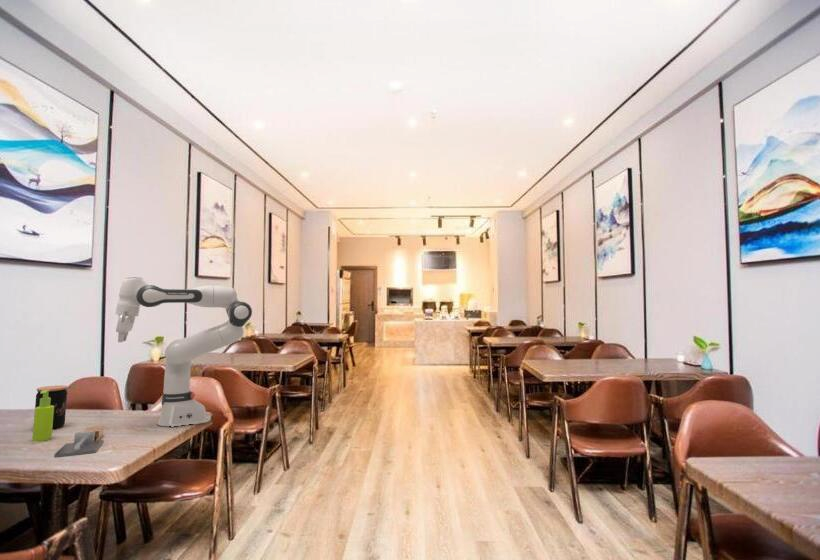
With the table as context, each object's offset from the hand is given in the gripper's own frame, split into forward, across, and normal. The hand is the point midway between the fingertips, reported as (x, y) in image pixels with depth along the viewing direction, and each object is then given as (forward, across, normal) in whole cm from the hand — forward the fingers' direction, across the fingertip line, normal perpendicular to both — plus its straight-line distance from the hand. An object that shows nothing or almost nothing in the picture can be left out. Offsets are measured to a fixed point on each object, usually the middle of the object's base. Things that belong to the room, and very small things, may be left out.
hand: (121, 341), depth 192 cm
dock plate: (+39, -30, +3) cm, 49 cm away
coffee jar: (+42, +12, +23) cm, 49 cm away
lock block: (+39, -15, +2) cm, 42 cm away
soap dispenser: (+41, -9, +20) cm, 47 cm away
